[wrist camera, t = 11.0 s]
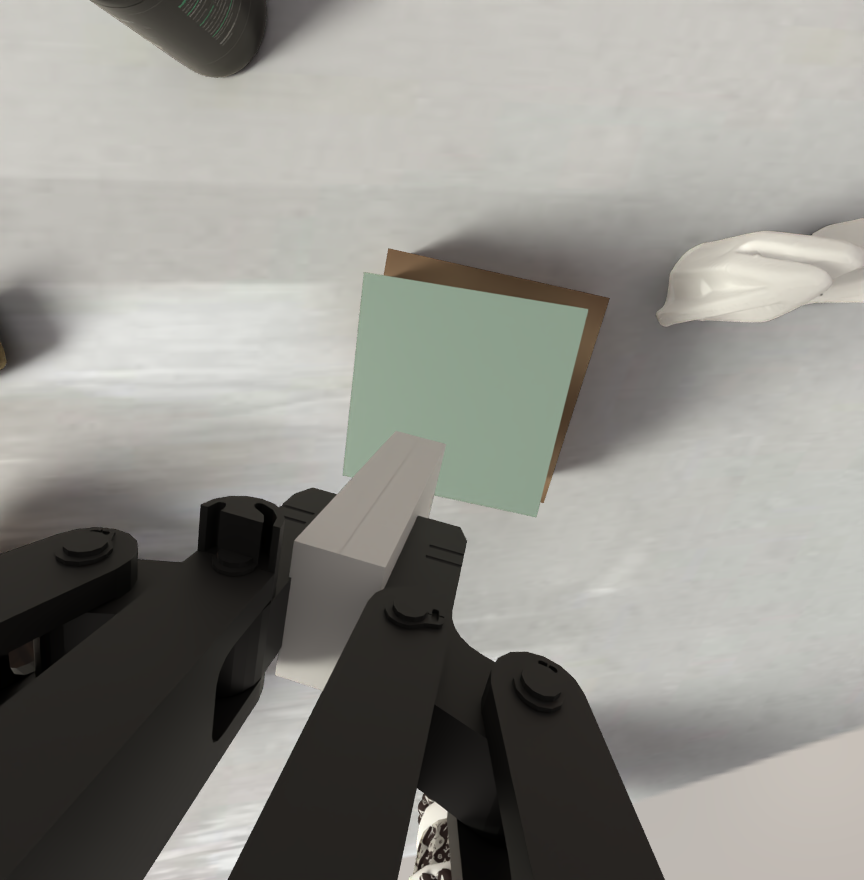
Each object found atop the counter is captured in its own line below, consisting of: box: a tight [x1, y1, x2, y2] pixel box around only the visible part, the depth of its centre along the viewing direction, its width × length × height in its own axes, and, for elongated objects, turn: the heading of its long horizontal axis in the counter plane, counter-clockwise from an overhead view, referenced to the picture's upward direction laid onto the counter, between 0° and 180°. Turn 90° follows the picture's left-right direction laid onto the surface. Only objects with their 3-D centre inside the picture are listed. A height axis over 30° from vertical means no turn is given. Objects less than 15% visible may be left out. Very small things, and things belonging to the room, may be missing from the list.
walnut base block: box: [384, 248, 610, 503], centre depth 29 cm, size 12×12×5 cm
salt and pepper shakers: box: [656, 218, 864, 327], centre depth 22 cm, size 12×4×11 cm, turn 98°
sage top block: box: [343, 272, 588, 517], centre depth 25 cm, size 10×10×5 cm
